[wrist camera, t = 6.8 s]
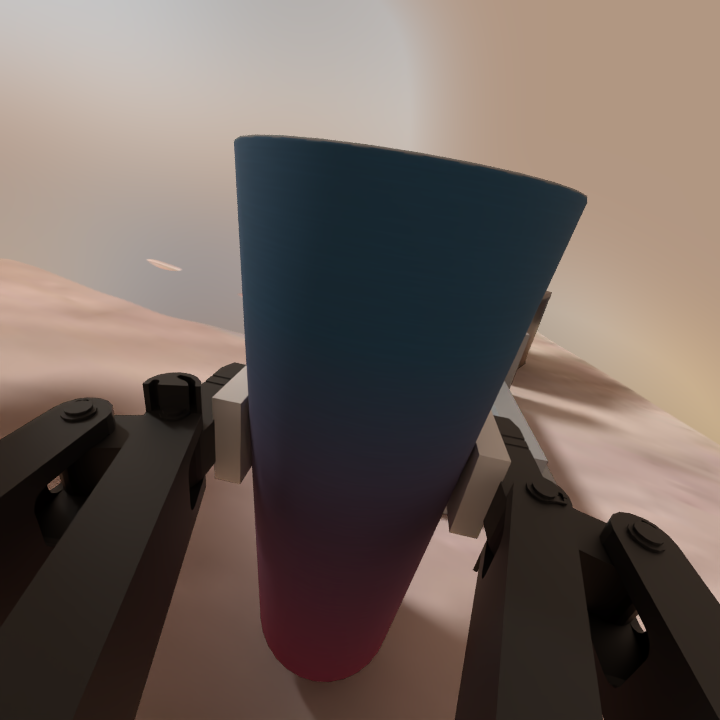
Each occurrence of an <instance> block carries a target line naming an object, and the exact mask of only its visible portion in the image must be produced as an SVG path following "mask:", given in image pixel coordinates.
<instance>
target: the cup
mask: <svg viewBox="0 0 720 720" xmlns="http://www.w3.org/2000/svg"><path fill="white" fill-rule="evenodd" d="M234 150H235V167H236V186H237V202H238V203H237V204H238V221H239V239H240V257H241V275H242V293H243V311H244V329H245V347H246V365H247V383H248V401H249V419H250V436H251V454H252V472H253V490H254V508H255V526H256V544H257V562H258V580H259V598H260V616H261V623H262V629H263V633H264V636H265V639H266V641H267V644H268V646H269V648H270V649H271V651H272V652H273V654H274V656H275V657H276V659H277V660H278V661H279V662H280V663H281V664H282V665H283V666H284V667H286V668H287V669H288V670H289V671H291V672H293V673H294V674H296V675H298V676H299V677H302V678H305V679H309V680H312V681H319V682H332V681H337V680H341V679H345V678H347V677H349V676H351V675H353V674H355V673H357V672H359V671H360V670H361V669H362V668H364V667H365V666H366V665H367V664H369V663H370V661H371V660H372V659H373V658H374V656H375V655H376V654H377V652H378V651H379V649H380V647H381V645H382V643H383V641H384V639H385V637H386V635H387V633H388V630H389V628H390V626H391V624H392V622H393V620H394V617H395V615H396V613H397V611H398V609H399V607H400V605H401V602H402V600H403V598H404V596H405V594H406V592H407V589H408V587H409V585H410V583H411V581H412V579H413V577H414V574H415V572H416V570H417V568H418V566H419V564H420V561H421V559H422V557H423V555H424V553H425V551H426V549H427V546H428V544H429V542H430V540H431V538H432V536H433V533H434V531H435V529H436V527H437V525H438V523H439V521H440V518H441V516H442V514H443V512H444V510H445V508H446V505H447V503H448V501H449V499H450V497H451V495H452V493H453V490H454V488H455V486H456V484H457V482H458V480H459V477H460V475H461V473H462V471H463V469H464V467H465V465H466V462H467V460H468V458H469V456H470V454H471V452H472V449H473V447H474V445H475V443H476V441H477V439H478V437H479V434H480V432H481V430H482V428H483V426H484V424H485V421H486V419H487V417H488V415H489V413H490V411H491V409H492V406H493V404H494V402H495V400H496V398H497V396H498V393H499V391H500V389H501V387H502V385H503V383H504V381H505V378H506V376H507V374H508V372H509V370H510V368H511V365H512V363H513V361H514V359H515V357H516V355H517V352H518V350H519V348H520V346H521V344H522V342H523V340H524V337H525V335H526V333H527V331H528V329H529V327H530V324H531V322H532V320H533V318H534V316H535V314H536V312H537V309H538V307H539V305H540V303H541V301H542V299H543V296H544V294H545V292H546V290H547V288H548V286H549V284H550V281H551V279H552V277H553V275H554V273H555V271H556V268H557V266H558V264H559V262H560V260H561V258H562V256H563V253H564V251H565V249H566V247H567V245H568V243H569V240H570V238H571V236H572V234H573V232H574V230H575V228H576V225H577V223H578V221H579V219H580V216H581V215H582V212H583V210H584V208H585V206H586V204H587V196H586V195H584V194H583V193H581V192H579V191H577V190H575V189H572V188H570V187H567V186H563V185H561V184H558V183H555V182H552V181H548V180H544V179H541V178H537V177H533V176H529V175H525V174H522V173H518V172H513V171H509V170H504V169H500V168H495V167H491V166H486V165H482V164H477V163H472V162H467V161H462V160H456V159H451V158H446V157H440V156H435V155H429V154H424V153H418V152H412V151H405V150H399V149H392V148H387V147H380V146H374V145H367V144H359V143H351V142H342V141H335V140H327V139H318V138H306V137H295V136H284V135H248V136H240V137H238V138H237V139H235V141H234Z"/></svg>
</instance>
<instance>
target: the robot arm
mask: <svg viewBox="0 0 720 720" xmlns="http://www.w3.org/2000/svg"><path fill="white" fill-rule="evenodd" d="M143 391H144V398H145V406H146V413H145V414H144V415H114V411H113V405H112V404H111V403H110V402H109V401H107V400H104V399H101V398H79V399H74V400H72V401H68V402H64V403H62V404H60V405H58V406H56V407H53V408H52V409H50V410H48V411H47V412H45V413H44V414H42V415H40V416H39V417H37V418H35V419H34V420H32V421H30V422H29V423H27V424H25V425H24V426H22V427H21V428H19V429H17V430H16V431H14V432H12V433H11V434H9V435H7V436H6V437H4V438H2V439H1V440H0V720H134V719H135V716H136V713H137V710H138V706H139V703H140V700H141V697H142V693H143V690H144V687H145V684H146V680H147V677H148V674H149V670H150V667H151V664H152V661H153V657H154V654H155V651H156V648H157V644H158V641H159V638H160V635H161V631H162V628H163V625H164V622H165V618H166V615H167V612H168V609H169V605H170V602H171V599H172V596H173V592H174V589H175V586H176V582H177V579H178V576H179V573H180V569H181V566H182V563H183V560H184V556H185V553H186V550H187V547H188V543H189V540H190V537H191V534H192V530H193V527H194V524H195V521H196V517H197V514H198V511H199V508H200V504H201V501H202V498H203V494H204V491H205V488H206V473H207V472H208V471H209V470H210V468H211V467H212V466H213V464H214V469H215V478H216V479H220V480H224V481H229V482H233V483H237V484H241V482H242V480H243V479H244V477H245V476H246V474H247V472H248V471H249V469H250V468H251V466H252V454H251V436H250V419H249V401H248V383H247V365H244V364H239V363H232V364H229V365H227V366H224V367H222V368H220V369H219V370H218V371H217V372H216V373H214V374H213V376H211V377H210V378H208V379H207V380H206V382H204V383H202V384H201V381H200V380H199V379H198V377H196V376H194V375H191V374H187V373H180V372H179V373H165V374H160V375H157V376H154V377H152V378H149V379H148V380H147V381H145V382H144V383H143ZM58 475H59V476H60V479H61V483H60V484H59V485H57V486H56V487H55V488H53V489H52V490H49V489H48V487H47V484H49V483H50V482H51V481H52V480H53V479H55V478H56V477H57V476H58ZM446 506H447V515H448V523H449V532H450V533H454V534H459V535H463V536H467V537H472V538H476V539H477V538H478V536H479V533H480V531H481V529H482V527H483V524H484V527H485V532H486V536H487V541H486V543H485V545H484V547H483V549H482V551H481V554H480V556H479V558H478V560H477V562H476V564H475V567H474V569H473V570H474V571H476V572H477V571H478V577H477V583H476V589H475V595H474V602H473V608H472V614H471V621H470V627H469V633H468V640H467V646H466V652H465V659H464V665H463V671H462V677H461V684H460V690H459V696H458V703H457V709H456V715H455V720H603V718H604V720H720V604H719V602H718V601H717V600H716V598H715V597H714V595H713V594H712V593H711V591H710V590H709V588H708V587H707V586H706V584H705V583H704V582H703V580H702V579H701V577H700V576H699V575H698V573H697V572H696V570H695V569H694V568H693V566H692V565H691V564H690V562H689V561H688V559H687V558H686V557H685V555H684V554H683V552H682V551H681V550H680V548H679V547H678V546H677V544H676V543H675V542H674V541H673V540H672V539H671V538H670V537H669V536H668V535H667V534H666V533H665V532H663V531H662V530H661V529H659V528H658V527H657V526H656V525H654V524H653V523H651V522H649V521H648V520H645V519H643V518H641V517H638V516H636V515H633V514H630V513H623V512H618V513H615V514H613V515H612V516H611V518H610V519H609V521H608V522H607V523H605V522H603V521H600V520H598V519H596V518H594V517H591V516H589V515H587V514H585V513H582V512H580V511H578V510H576V509H574V508H573V507H572V503H571V501H570V498H569V497H568V495H567V494H566V493H565V492H564V491H563V490H562V489H561V488H560V487H559V486H557V485H556V484H555V483H553V482H552V481H550V480H548V479H546V478H544V477H543V476H542V474H541V472H540V469H539V467H538V465H537V463H536V461H535V459H534V457H533V455H532V453H531V451H530V450H529V447H528V445H527V443H526V441H525V438H524V436H523V434H522V432H521V430H520V428H519V427H518V426H516V425H515V424H514V423H513V422H512V421H511V420H510V419H509V418H505V417H500V416H495V415H493V413H492V411H490V413H489V415H488V417H487V419H486V421H485V424H484V426H483V428H482V430H481V432H480V434H479V437H478V439H477V441H476V443H475V445H474V447H473V449H472V452H471V454H470V456H469V458H468V460H467V462H466V465H465V467H464V469H463V471H462V473H461V475H460V477H459V480H458V482H457V484H456V486H455V488H454V490H453V493H452V495H451V497H450V499H449V501H448V503H447V505H446ZM478 569H479V570H478ZM638 614H639V616H640V618H641V620H642V622H643V624H644V626H645V629H646V631H645V632H644V631H643V630H642V628H641V627H640V625H639V623H638V621H637V619H636V616H637V615H638ZM602 715H603V717H602Z"/></svg>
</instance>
